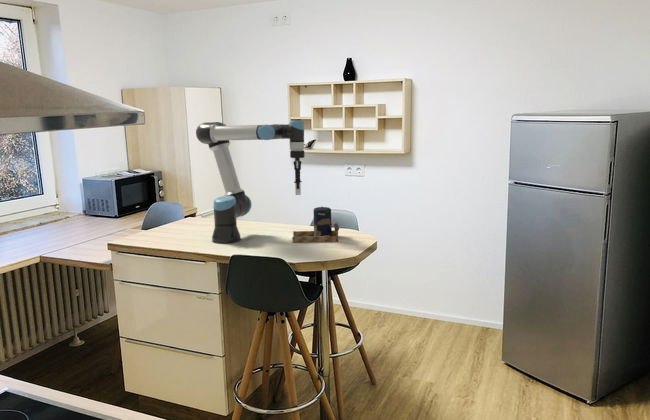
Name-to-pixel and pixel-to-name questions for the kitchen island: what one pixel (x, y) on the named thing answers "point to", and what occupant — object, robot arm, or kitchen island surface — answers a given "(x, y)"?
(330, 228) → the canister
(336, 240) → the bay
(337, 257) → the kitchen island surface
